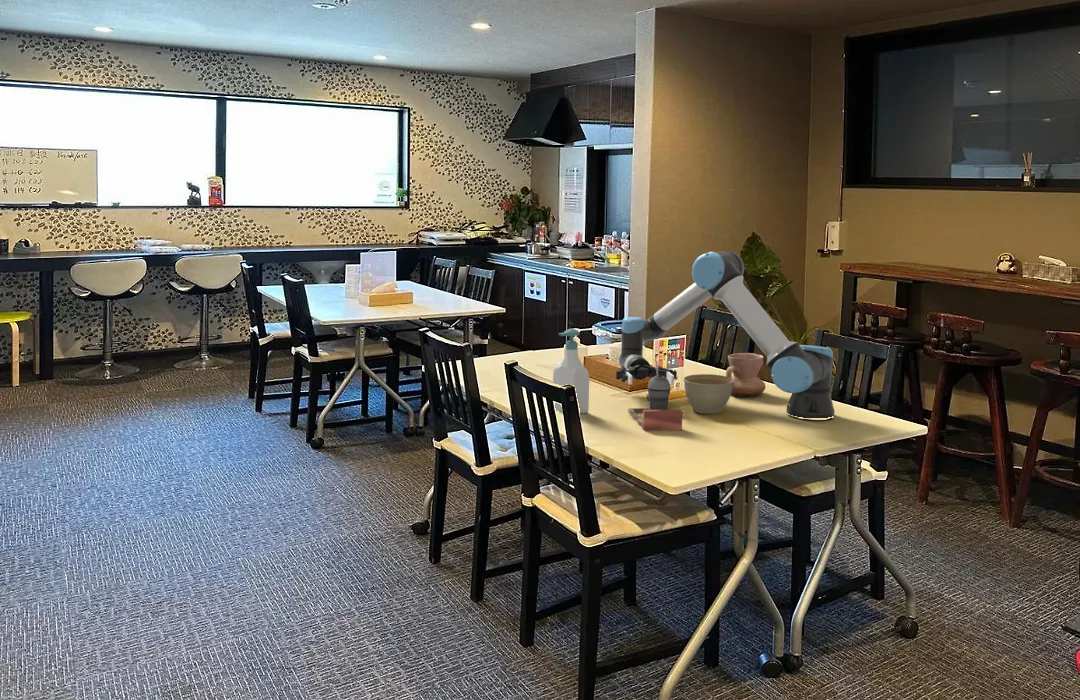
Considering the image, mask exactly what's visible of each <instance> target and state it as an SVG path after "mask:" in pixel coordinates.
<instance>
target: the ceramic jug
mask: <svg viewBox="0 0 1080 700" xmlns="http://www.w3.org/2000/svg"><path fill="white" fill-rule="evenodd" d="M727 360H728V361H727V362H728V364H729V366H728V367H727V369H726V370H725V371H726V372H725V376H726V377H729V378H732V379H733V380H734V382H733V385H732V392H731V395H734V396H738V395H739V397H755V395H756V396H759V395H761V394H763V393H764V392H765V390H766V383H765V382H764V380H762V379H760V378H759V377H758V374H759V372H760V370H761V368H762V366H763V365H764V356H763V355H761V354H757V353H752V352H751V353H750V352H741V353H740V352H739V353H732V354H729V355H727Z"/></svg>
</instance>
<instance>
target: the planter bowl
mask: <svg viewBox="0 0 1080 700" xmlns="http://www.w3.org/2000/svg"><path fill="white" fill-rule="evenodd" d="M683 382H684V384H683V385H684V386H683V387H684V392H685V395H686V397H687V400H688V402H689V404H690V405H691V407H692V410H693V411H694V412H696V413H699V414H707V415H711V414H714V415H715V414H720V413H721V412H722V411H723V408H724V407H725V406H726V404H727V403H728V401H729V400H730V398H731V395H732V394H731V392H732V385H733V382H734V380H733V379H732V378H729V377H726V375H720V374H713V373H712V374H710V373H709V374H708V373H703V374H702V373H700V374H697V373H696V374H690V375H687V376H684V377H683Z"/></svg>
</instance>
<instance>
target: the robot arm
mask: <svg viewBox="0 0 1080 700" xmlns="http://www.w3.org/2000/svg"><path fill="white" fill-rule="evenodd" d="M691 267H692V269H691V277H692V280H693V283H692V284H690V286H688V287H687V288H685V289H684V290H683V291H682V292H680V293H679V294H678V295H676V296H675V297H674V298H673V299H671V300H670V301H669V302H668V303H666V304H665V305H664V306H662V307H661V308H660V309H659V310H657V311H656V312H655V313H654V314H652V315H651V316H650V317H648V318H647V319H645V320H644V318H642V317H640V316H639V317H638V316H627V317H626V316H625V317H624V318H623V319H622V325H621V347H620V348H621V350H620V351H621V352H620V353H619V356H618V363H619V364H620V369H618V370H617V371H615V380H618V381H619V380H621V382H622V383H626V382H627V383H628V384H629V385H630V386H631V385H633V379H634V380H637V381H641V380H644V379H646V378H651V379H652V378H653V377H654V376H657V372H656V366H651V365H650V362H649V361H648V360H647V359H646V358H644V356H643V355H644V354H643V351H644V350H643V349H644V343H646V342H649V341H655V339H656V340H658V339H659V340H660V338H663V337H664V336H665V335H666V333H667V331H668V330H670V329H671V328H672V327H674V326H675V325H676V324H678V323H679V322H680V321H681V320H683V319H685V317H687V316H689V314H691V313H692V312H693V311H695V310H696V309H697V308H699V307H700V306H702V305H703V304H704V303H705V302H707V301H709V299H711V298H712V299H714V300H716V301H717V300H718V301H721V302H722V303H723V304H724V305H725V307H726V308H727V309H728V310H729V311H730V313H731V314H732V316H733V317H735V319H736V320H737V321H738V323H739V324H740V325H741V327H742V328H743V330H745V332H746V333H747V334H748V335H749V336H750V338H751V339H752V341H753V342H754V343H755V344H756V346H757V347H758V348H759V349H760V351H761V352H762V353H763V355H765V357H766V366H767V367H768V368H769V370H770V371H771V379H772V382H773V384H774V385H775V386H776V388H778V389H779V390H780V391H782V392H785V393H787V394H791V396H790V398H789V401H788V403H787V405H786V411H785V413H786V412H787V413H788V414H790V415H793V416H797V417H803V418H828V417H832V416H834V417H835V408H834V403H833V400H832V396H831V389H832V387H831V384H832V377H833V362H834V352H833V350H832V348H830V347H825V346H819V345H818V346H817V345H807V344H799V343H798V342H797V341H791V340H789V339H788V337H787V336H786V335H785V334H784V332H783V331H782V330H781V328H779V326H778V325H777V324H776V323H775V321H774V320H773V318H771V316H770V315H769V314H768V313H767V311H766V310H765V309H764V308H763V306H761V304H760V303H759V301H758V300H757V299H756V298H755V297H754V296H753V294H752V293H751V292H750V291H749V289H748V288H747V287H746V286H745V284H744V272H745V265H744V261H743V259H742V257H741V256H739V255H738V253H736V252H734V251H731V250H722V251H709V252H706V253H703V254H701V255H699V256H698V257H697V258H696V259H695V261H694V263H693V264H692V266H691ZM677 371H678V370H677ZM677 371H676V370H673V369H669V368H665V367H662V366H660V365H658V375H661V376H664V377H666V378H667V379H668V381H669V383H670V385H674V384H675V383H674V382H675V380H677V376H678V372H677Z"/></svg>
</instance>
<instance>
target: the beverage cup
mask: <svg viewBox="0 0 1080 700" xmlns="http://www.w3.org/2000/svg"><path fill="white" fill-rule="evenodd" d="M658 366H659V365H658V361H657V360H656V361H655V368H656V372H657V376H654V377H653V378H652V377H651V378H650V380H649V381H648V384H647V388H646V389H647V393H648V402H649V403H648V404H649V405H648V408H650V410H668V405H669V400H670V398H669V397H670V394H671V389H672V388H671V383H669V381H668V379H667V378H666V377H664V376H661V375H658Z"/></svg>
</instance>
